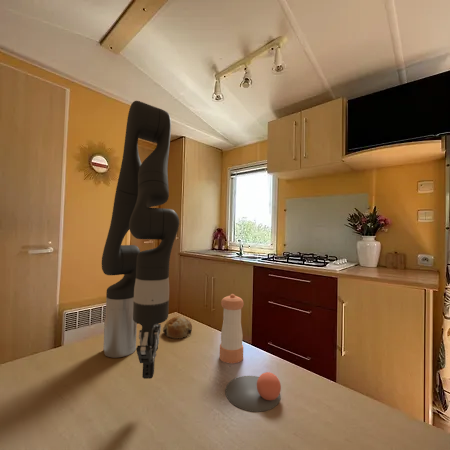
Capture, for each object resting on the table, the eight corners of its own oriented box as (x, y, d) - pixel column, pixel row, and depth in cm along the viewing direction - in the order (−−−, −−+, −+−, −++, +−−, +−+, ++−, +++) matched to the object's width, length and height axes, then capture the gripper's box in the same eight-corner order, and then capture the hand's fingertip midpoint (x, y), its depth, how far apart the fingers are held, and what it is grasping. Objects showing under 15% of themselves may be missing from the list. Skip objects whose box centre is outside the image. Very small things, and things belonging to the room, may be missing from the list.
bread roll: (180, 351, 88) (190, 330, 87) (156, 335, 90) (165, 315, 89) (190, 339, 97) (199, 320, 97) (167, 325, 99) (176, 307, 99)
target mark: (214, 395, 58) (214, 394, 58) (243, 371, 69) (243, 370, 69) (265, 420, 51) (265, 419, 51) (288, 388, 62) (288, 388, 62)
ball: (287, 391, 58) (269, 408, 57) (273, 370, 62) (256, 385, 61) (282, 386, 55) (263, 404, 54) (267, 364, 59) (249, 380, 58)
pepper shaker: (231, 349, 82) (232, 290, 82) (248, 357, 76) (249, 294, 77) (214, 356, 76) (215, 293, 77) (231, 366, 71) (233, 298, 72)
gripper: (163, 307, 49) (159, 396, 49) (172, 290, 62) (169, 360, 62) (124, 307, 48) (120, 397, 48) (142, 289, 62) (139, 360, 62)
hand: (148, 376), depth 55 cm, fingers closed
